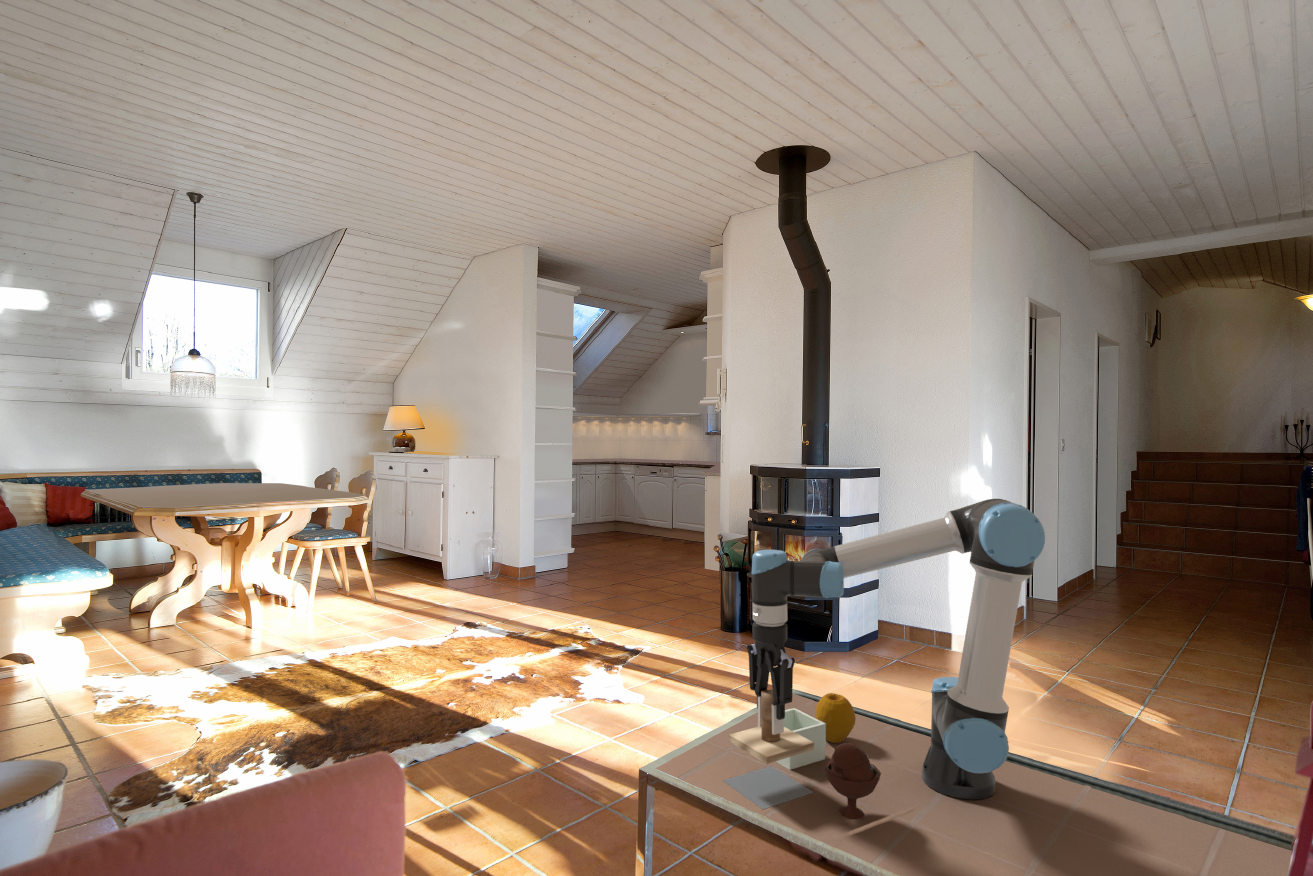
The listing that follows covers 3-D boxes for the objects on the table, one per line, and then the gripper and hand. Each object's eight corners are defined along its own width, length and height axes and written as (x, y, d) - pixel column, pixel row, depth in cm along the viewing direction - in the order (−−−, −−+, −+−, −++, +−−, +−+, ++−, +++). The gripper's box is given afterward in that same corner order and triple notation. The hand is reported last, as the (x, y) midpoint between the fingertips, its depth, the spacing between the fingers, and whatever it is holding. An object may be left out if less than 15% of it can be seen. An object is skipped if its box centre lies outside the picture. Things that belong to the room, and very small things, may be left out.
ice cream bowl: (882, 833, 143) (884, 757, 143) (824, 826, 145) (825, 751, 145) (877, 805, 153) (878, 734, 153) (822, 799, 156) (824, 729, 155)
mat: (813, 795, 157) (813, 792, 157) (762, 812, 150) (762, 809, 150) (771, 768, 169) (771, 766, 169) (722, 783, 162) (722, 780, 162)
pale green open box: (825, 761, 173) (825, 723, 173) (789, 772, 168) (790, 733, 167) (793, 743, 183) (794, 708, 182) (759, 753, 177) (759, 716, 177)
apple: (861, 740, 185) (862, 694, 185) (841, 752, 178) (842, 704, 178) (828, 729, 192) (829, 684, 192) (807, 739, 185) (808, 693, 185)
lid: (814, 749, 157) (813, 696, 157) (766, 764, 150) (766, 708, 150) (774, 728, 168) (774, 678, 168) (728, 741, 162) (728, 689, 161)
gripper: (732, 616, 164) (733, 719, 165) (782, 633, 150) (783, 747, 150) (758, 611, 168) (759, 712, 169) (809, 628, 154) (810, 739, 154)
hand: (770, 728), depth 159 cm, fingers closed on lid, 4 cm apart
